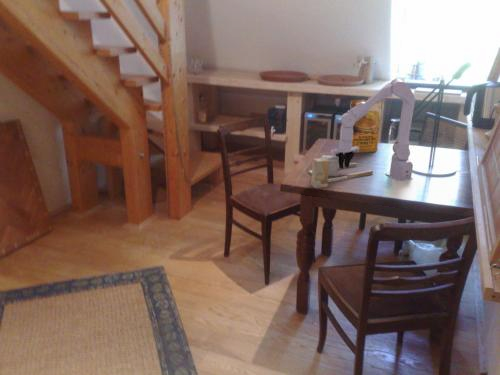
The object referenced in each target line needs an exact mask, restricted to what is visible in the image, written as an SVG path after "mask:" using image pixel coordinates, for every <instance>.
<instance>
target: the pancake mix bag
mask: <svg viewBox="0 0 500 375" xmlns="http://www.w3.org/2000/svg"><path fill="white" fill-rule="evenodd" d="M367 100H368V98H367V99H362V98H361V99H352V100H350V105H349V111H350V110H351V109H352V108H354V107H355V106H356V104H357V103H360V102H366V101H367ZM382 118H383V100H380V101H379V102H377V103H376V104H374V105H373V106H372V107H370V109H369V112H368V113H367V114H366V115H364V116H363V117H362V118H360V119H359V120H358V121H355V124H354V126H353V139H352V147H356V146H357V147H359V151H358V152H357V151H354V152H353V153H354V154H356V153H362V154H363V153H376V152H377V151H378V149H379V148H378V144H379V140H380V133H381V127H382Z"/></svg>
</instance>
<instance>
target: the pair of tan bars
mask: <svg viewBox="0 0 500 375" xmlns="http://www.w3.org/2000/svg"><path fill="white" fill-rule="evenodd" d="M357 165H358V163H357V162H350V164H349V166H348V168H355V167H357ZM348 168H347V167H345V166H344V165H343V168H342V169H348ZM342 169H341V168H340V167H339V164H338V170H342ZM373 172H374V171H373V170H371V169H370V170H365V171H359V172H354V173H347V174H345V176H347V179H353V178H357V177H359V178H360V177H363V176H370V175H373V174H374V173H373Z"/></svg>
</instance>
